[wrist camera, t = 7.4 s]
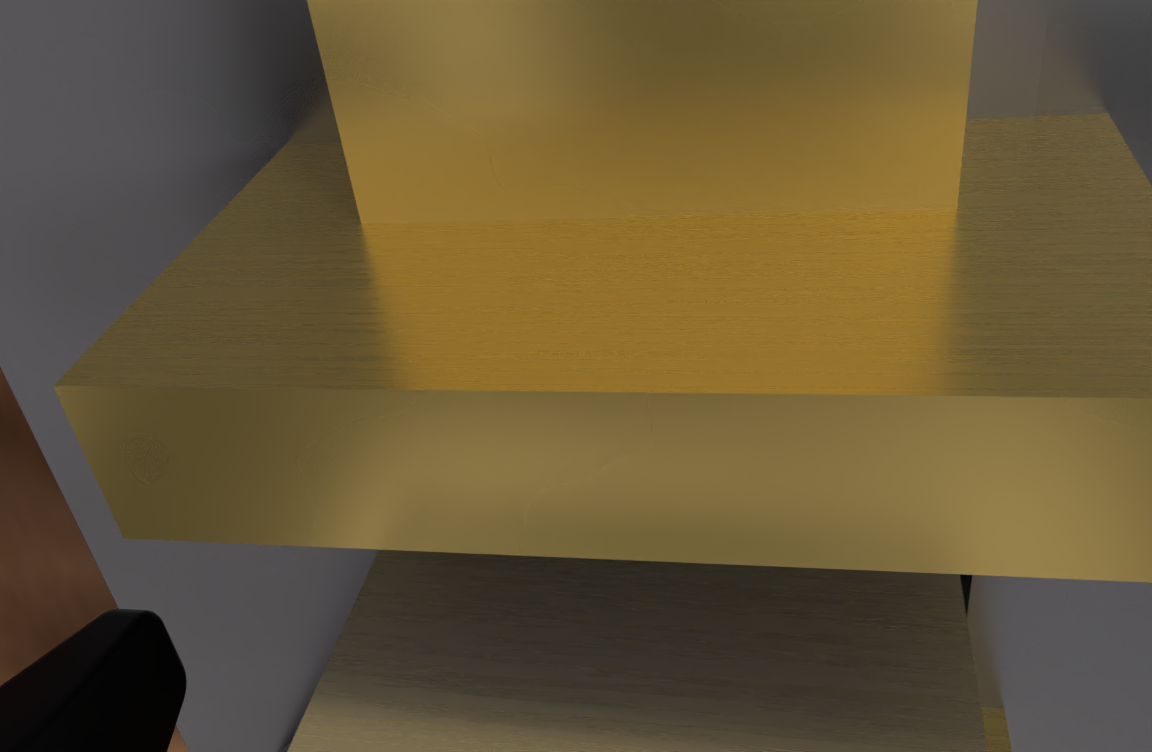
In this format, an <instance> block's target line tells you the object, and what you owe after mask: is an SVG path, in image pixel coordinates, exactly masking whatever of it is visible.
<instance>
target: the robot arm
mask: <svg viewBox="0 0 1152 752" xmlns="http://www.w3.org/2000/svg"><path fill="white" fill-rule="evenodd" d="M186 686H187V679H186V672H185V669H184V666H183V664H182V661H181V659H180V657H179V655H178V653H177V651H176V649H175V646H174V644H173V642H172V640H171V638H170V636H169V633H168V631H167V629H166V627H165V625H164V623H163V621H162V619H161V618H160V616H158V615H157V614H156V613H155V612H153V611H149V610H134V609H113V610H110V611H107V612H105V613H104V614H102V615H100V616H99V617H97V618H96V619H95V620H93V621H92V622H90V623H89V624H87V625H86V626H85V627H83V628H82V629H80V630H79V631H78V632H76V633H75V634H73V635H72V636H71V637H69V638H68V639H66V640H65V641H63V642H62V643H61V644H59V645H58V646H56V647H55V648H54V649H52V650H51V651H49V652H48V653H47V654H45V655H44V656H42V657H41V658H39V659H38V660H37V661H35V662H34V663H32V664H31V665H30V666H28V667H27V668H25V669H24V670H23V671H21V672H20V673H18V674H17V675H15V676H14V677H13V678H11V679H10V680H8V681H7V682H6V683H4V684H3V685H1V686H0V752H167V750H168V747H169V744H170V741H171V738H172V735H173V732H174V729H175V726H176V723H177V720H178V717H179V714H180V711H181V707H182V704H183V701H184V698H185V693H186Z"/></svg>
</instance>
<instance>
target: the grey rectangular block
mask: <svg viewBox="0 0 1152 752" xmlns="http://www.w3.org/2000/svg"><path fill="white" fill-rule="evenodd" d="M287 752H988V748H987V742H986V735H985V729H984V723H983V717H982V710H981V704H980V698H979V692H978V685H977V679H976V673H975V666H974V660H973V654H972V648H971V641H970V635H969V629H968V623H967V616H966V610H965V604H964V597H963V591H962V585H961V579H960V574H940V573H917V572H893V571H870V570H847V569H823V568H800V567H777V566H753V565H730V564H706V563H683V562H660V561H636V560H613V559H590V558H566V557H543V556H520V555H496V554H473V553H449V552H426V551H403V550H378V552H377V554H376V556H375V559H374V561H373V563H372V565H371V567H370V570H369V572H368V574H367V576H366V579H365V581H364V583H363V585H362V587H361V590H360V592H359V594H358V596H357V598H356V601H355V603H354V605H353V607H352V609H351V612H350V614H349V616H348V618H347V621H346V623H345V625H344V627H343V629H342V632H341V634H340V636H339V638H338V640H337V643H336V645H335V647H334V649H333V652H332V654H331V656H330V658H329V660H328V663H327V665H326V667H325V669H324V671H323V674H322V676H321V678H320V680H319V683H318V685H317V687H316V689H315V691H314V694H313V696H312V698H311V700H310V702H309V705H308V707H307V709H306V711H305V714H304V716H303V718H302V720H301V722H300V725H299V727H298V729H297V731H296V733H295V736H294V738H293V740H292V742H291V744H290V747H289V749H288V751H287Z"/></svg>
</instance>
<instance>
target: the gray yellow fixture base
mask: <svg viewBox="0 0 1152 752" xmlns="http://www.w3.org/2000/svg"><path fill="white" fill-rule="evenodd" d="M0 367H1V369H2V371H3V373H4V375H5V378H6V380H7V382H8V384H9V386H10V388H11V390H12V392H13V394H14V396H15V398H16V400H17V402H18V404H19V406H20V408H21V410H22V412H23V414H24V416H25V418H26V420H27V422H28V424H29V426H30V428H31V431H32V433H33V435H34V437H35V439H36V441H37V443H38V445H39V447H40V449H41V451H42V453H43V455H44V457H45V459H46V461H47V463H48V465H49V467H50V469H51V471H52V473H53V475H54V477H55V479H56V481H57V483H58V486H59V488H60V490H61V492H62V494H63V496H64V498H65V500H66V502H67V504H68V506H69V508H70V510H71V512H72V514H73V516H74V518H75V520H76V522H77V524H78V526H79V528H80V530H81V532H82V534H83V536H84V539H85V541H86V543H87V545H88V547H89V549H90V551H91V553H92V555H93V557H94V559H95V561H96V563H97V565H98V567H99V569H100V571H101V573H102V575H103V577H104V579H105V581H106V583H107V585H108V587H109V589H110V591H111V594H112V596H113V598H114V600H115V602H116V604H117V606H118V608H119V609H134V610H149V611H153V612H155V613H156V614H157V615H158V616H160V618H161V619H162V621H163V623H164V625H165V627H166V629H167V631H168V633H169V636H170V638H171V640H172V642H173V644H174V646H175V649H176V651H177V653H178V655H179V657H180V659H181V661H182V664H183V666H184V669H185V672H186V679H187V686H186V693H185V698H184V701H183V704H182V707H181V711H180V714H179V717H178V720H177V723H176V726H177V728H178V730H179V732H180V734H181V736H182V738H183V740H184V742H185V744H186V746H187V748H188V750H189V752H287V751H288V749H289V747H290V744H291V742H292V740H293V738H294V736H295V733H296V731H297V729H298V727H299V725H300V722H301V720H302V718H303V716H304V714H305V711H306V709H307V707H308V705H309V702H310V700H311V698H312V696H313V694H314V691H315V689H316V687H317V685H318V683H319V680H320V678H321V676H322V674H323V671H324V669H325V667H326V665H327V663H328V660H329V658H330V656H331V654H332V652H333V649H334V647H335V645H336V643H337V640H338V638H339V636H340V634H341V632H342V629H343V627H344V625H345V623H346V621H347V618H348V616H349V614H350V612H351V609H352V607H353V605H354V603H355V601H356V598H357V596H358V594H359V592H360V590H361V587H362V585H363V583H364V581H365V579H366V576H367V574H368V572H369V570H370V567H371V565H372V563H373V561H374V559H375V556H376V554H377V552H378V550H403V551H426V552H449V553H473V554H496V555H520V556H543V557H566V558H590V559H613V560H636V561H660V562H683V563H706V564H730V565H753V566H777V567H800V568H823V569H847V570H870V571H893V572H917V573H940V574H960V579H961V585H962V591H963V597H964V604H965V610H966V616H967V623H968V629H969V635H970V641H971V648H972V654H973V660H974V666H975V673H976V679H977V685H978V692H979V698H980V704H981V710H982V717H983V723H984V729H985V735H986V742H987V748H988V752H1152V0H0Z"/></svg>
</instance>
